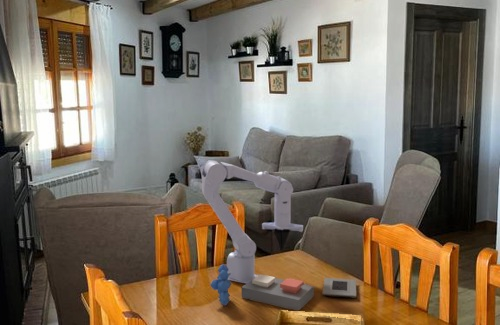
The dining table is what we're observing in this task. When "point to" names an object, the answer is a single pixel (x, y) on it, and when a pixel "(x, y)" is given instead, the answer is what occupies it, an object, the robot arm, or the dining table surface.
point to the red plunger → (291, 285)
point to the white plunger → (263, 280)
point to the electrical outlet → (339, 287)
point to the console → (278, 295)
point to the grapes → (222, 284)
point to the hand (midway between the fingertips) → (282, 249)
